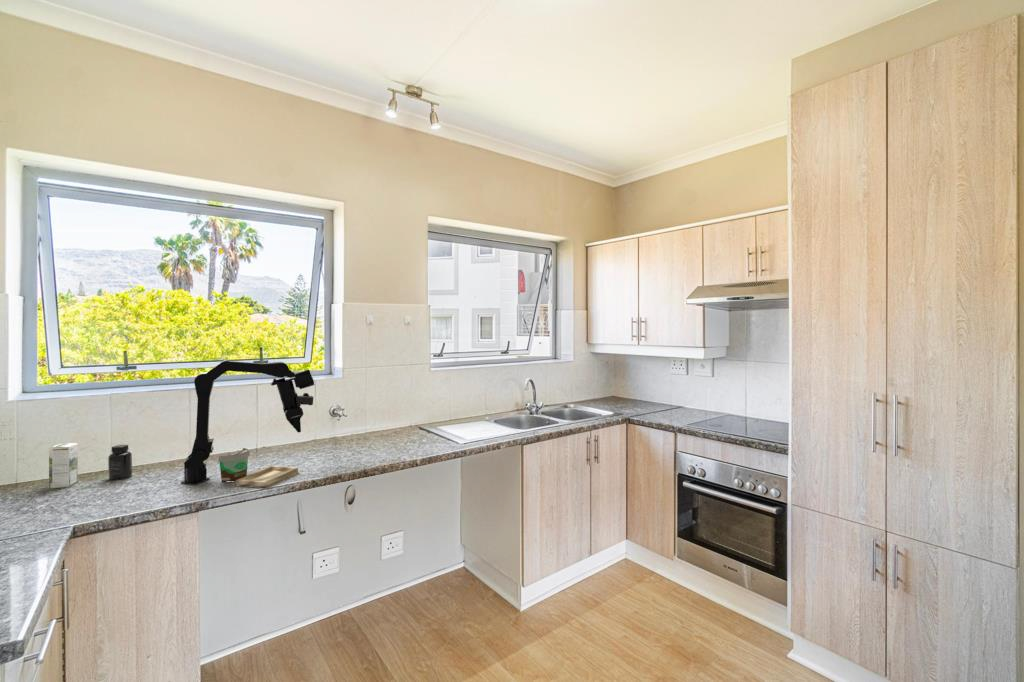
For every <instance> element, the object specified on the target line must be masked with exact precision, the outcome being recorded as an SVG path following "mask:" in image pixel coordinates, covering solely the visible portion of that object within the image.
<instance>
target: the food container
mask: <svg viewBox="0 0 1024 682" xmlns="http://www.w3.org/2000/svg"><path fill="white" fill-rule="evenodd" d="M250 456H251V452H250V450H249V449H248V448H245V447H242V449H241V450H240V451H237V452H231V453H229V454H228V455H227V454H226V455H219V456H218V459H217V462H218V463H219V471H220V480H221V483H227V482H226V481H234V482H236V480H238V479H240V478H242V477H245V476H247V475H248V474H247V473H248V463H249V461H248V460H249V457H250Z"/></svg>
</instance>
